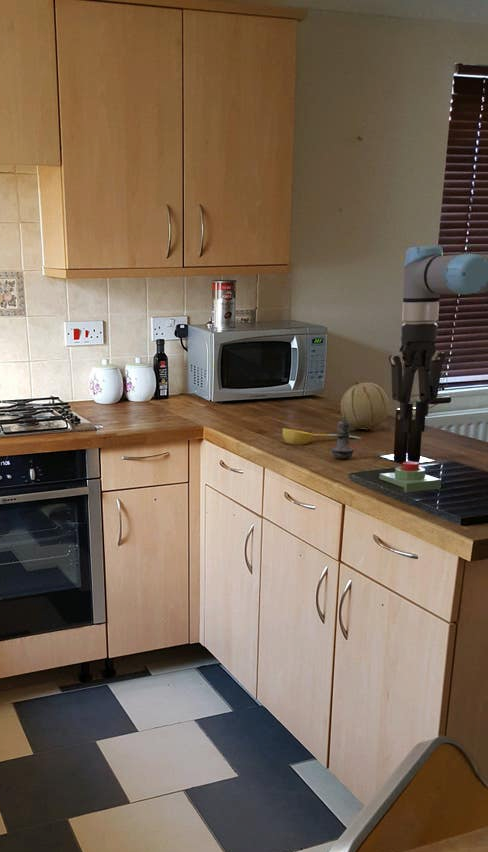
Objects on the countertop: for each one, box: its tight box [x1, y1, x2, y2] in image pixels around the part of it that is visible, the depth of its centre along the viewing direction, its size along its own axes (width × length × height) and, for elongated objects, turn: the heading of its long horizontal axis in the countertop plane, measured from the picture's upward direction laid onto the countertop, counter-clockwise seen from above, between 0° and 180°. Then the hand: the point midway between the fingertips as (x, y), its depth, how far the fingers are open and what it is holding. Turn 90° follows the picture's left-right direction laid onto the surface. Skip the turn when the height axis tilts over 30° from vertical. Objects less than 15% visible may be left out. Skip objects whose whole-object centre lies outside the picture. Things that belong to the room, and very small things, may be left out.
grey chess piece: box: [330, 416, 355, 461], centre depth 225 cm, size 6×6×12 cm
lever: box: [412, 395, 452, 421], centre depth 214 cm, size 15×6×2 cm, turn 19°
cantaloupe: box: [340, 380, 390, 429], centre depth 272 cm, size 15×15×15 cm
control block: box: [378, 466, 442, 494], centre depth 199 cm, size 11×9×4 cm
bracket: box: [378, 407, 437, 465], centre depth 222 cm, size 12×9×14 cm
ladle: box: [282, 427, 361, 446], centre depth 252 cm, size 9×26×6 cm, turn 107°
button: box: [401, 461, 420, 471], centre depth 199 cm, size 4×4×2 cm
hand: (412, 431), depth 196 cm, fingers open, 3 cm apart
